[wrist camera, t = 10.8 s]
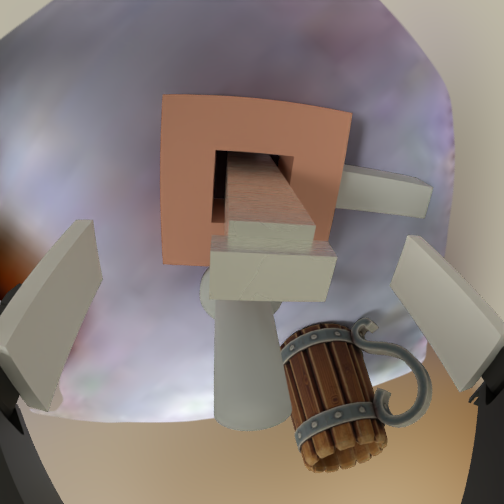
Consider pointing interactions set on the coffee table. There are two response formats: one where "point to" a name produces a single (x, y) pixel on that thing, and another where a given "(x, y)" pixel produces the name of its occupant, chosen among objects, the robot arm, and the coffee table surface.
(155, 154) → the coffee table surface
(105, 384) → the coffee table surface
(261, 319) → the square hole peg fixture
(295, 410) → the mug
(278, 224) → the wedge pin
